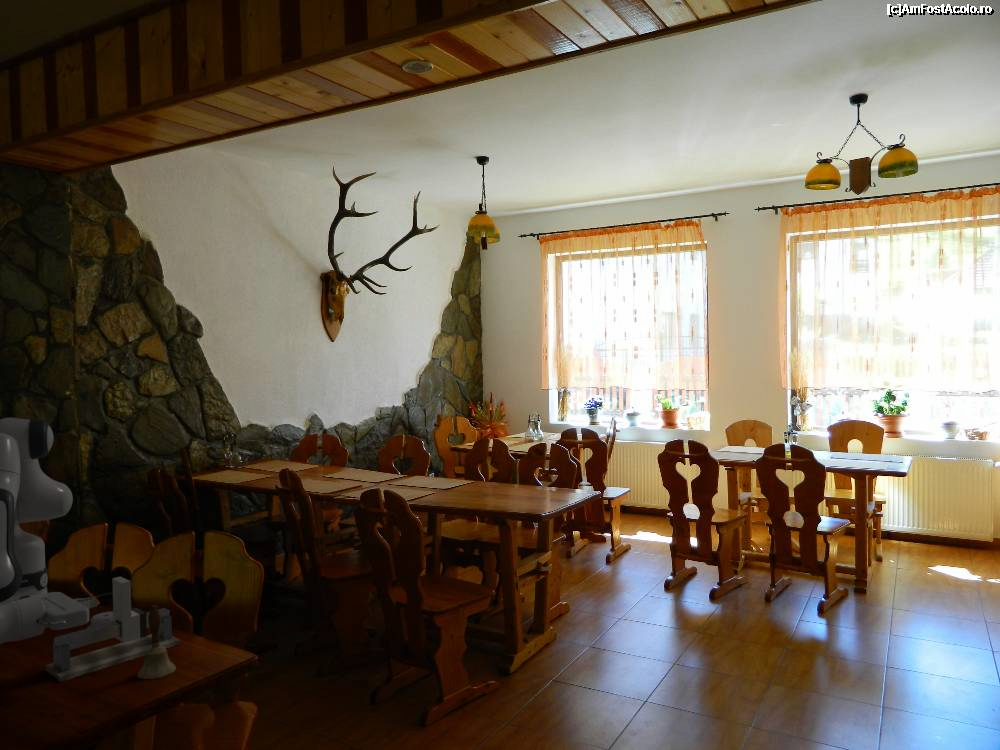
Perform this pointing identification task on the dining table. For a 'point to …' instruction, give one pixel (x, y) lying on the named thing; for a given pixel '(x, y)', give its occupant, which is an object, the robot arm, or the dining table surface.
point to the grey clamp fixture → (100, 638)
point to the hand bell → (155, 652)
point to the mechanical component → (101, 619)
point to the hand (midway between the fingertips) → (95, 601)
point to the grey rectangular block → (125, 610)
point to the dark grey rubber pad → (142, 622)
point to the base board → (108, 657)
